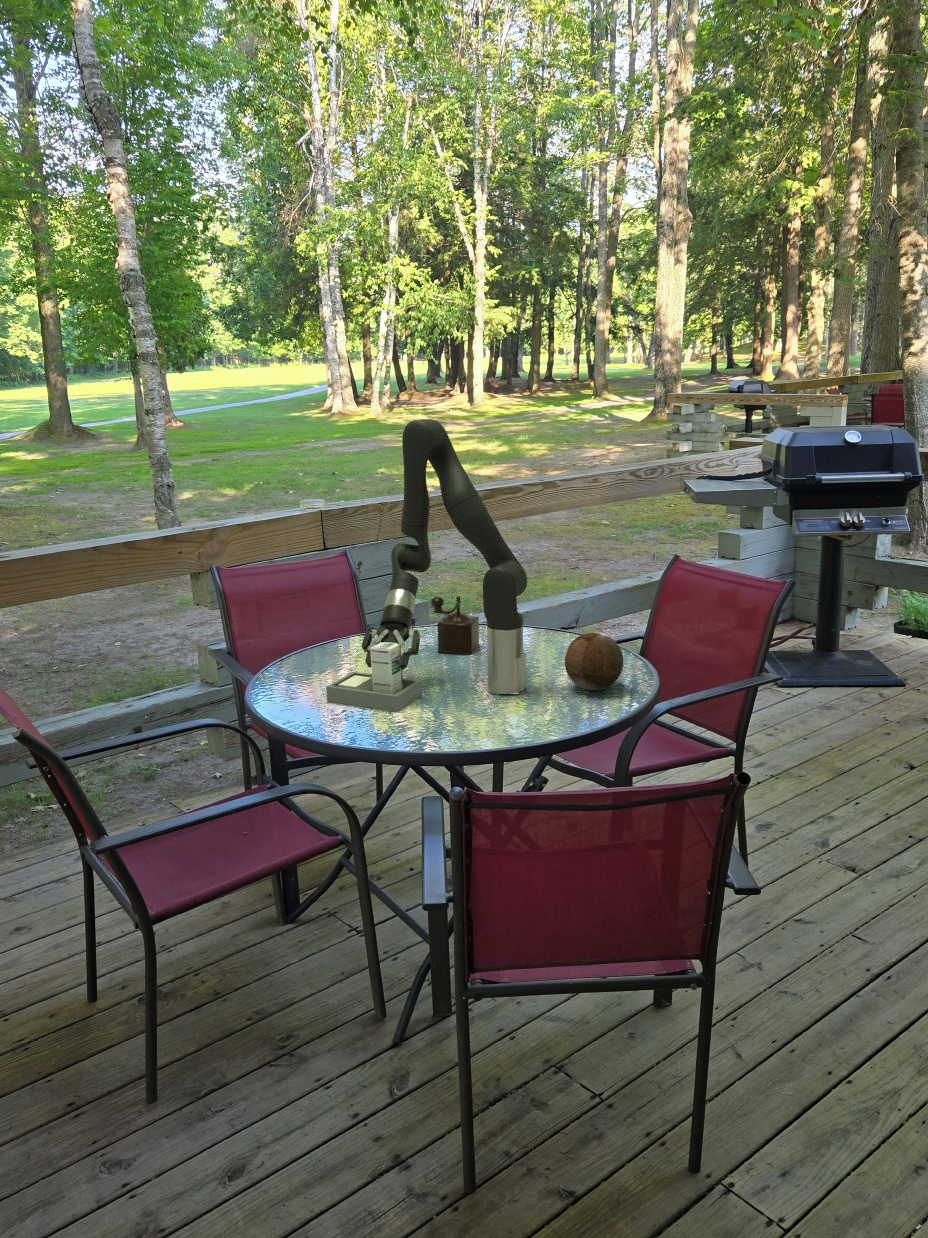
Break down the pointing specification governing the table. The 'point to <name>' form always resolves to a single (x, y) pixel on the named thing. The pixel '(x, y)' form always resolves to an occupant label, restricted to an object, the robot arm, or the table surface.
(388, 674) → the syrup box
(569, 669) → the wooden sphere
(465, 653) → the manual coffee grinder
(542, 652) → the table surface
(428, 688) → the table surface
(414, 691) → the tray
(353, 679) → the cream rectangular block
